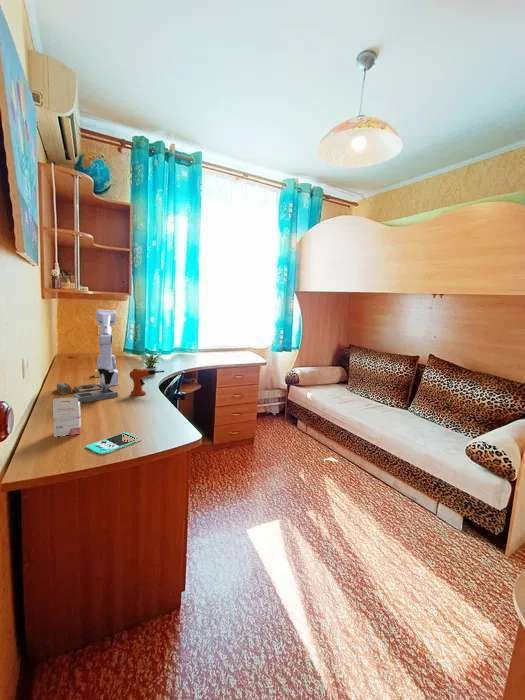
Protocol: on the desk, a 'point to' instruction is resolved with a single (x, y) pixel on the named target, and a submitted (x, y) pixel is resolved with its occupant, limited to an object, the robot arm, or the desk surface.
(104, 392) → the rack
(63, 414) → the ink cartridge box
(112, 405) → the desk surface
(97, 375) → the rubber stamp
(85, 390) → the socket block
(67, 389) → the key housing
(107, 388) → the shiny metal cylinder
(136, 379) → the toy drill
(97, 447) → the handheld game console
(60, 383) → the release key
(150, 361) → the house plant
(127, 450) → the desk surface
